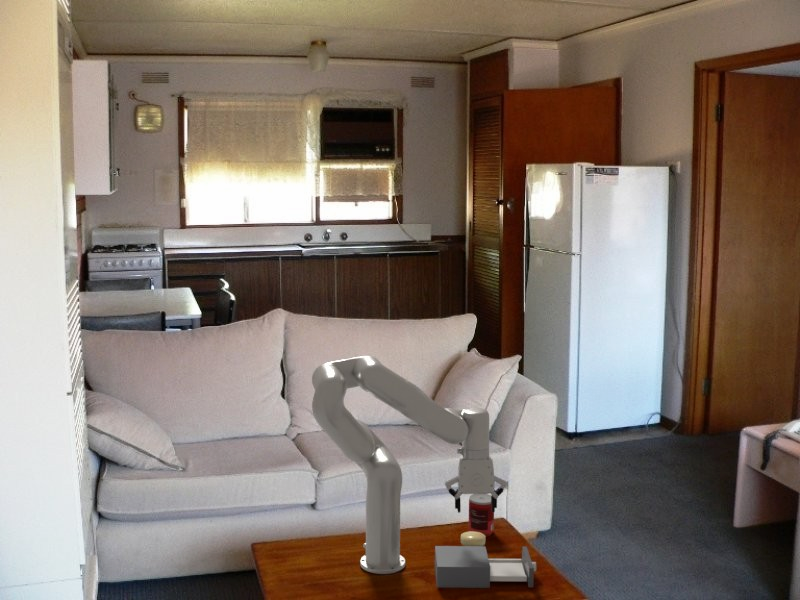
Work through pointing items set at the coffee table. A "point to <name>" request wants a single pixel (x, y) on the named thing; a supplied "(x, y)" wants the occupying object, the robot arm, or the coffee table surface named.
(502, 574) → the drawer
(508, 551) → the coffee table surface
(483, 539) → the cream domed disc
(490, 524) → the canned food
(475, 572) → the housing
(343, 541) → the coffee table surface
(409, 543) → the coffee table surface
